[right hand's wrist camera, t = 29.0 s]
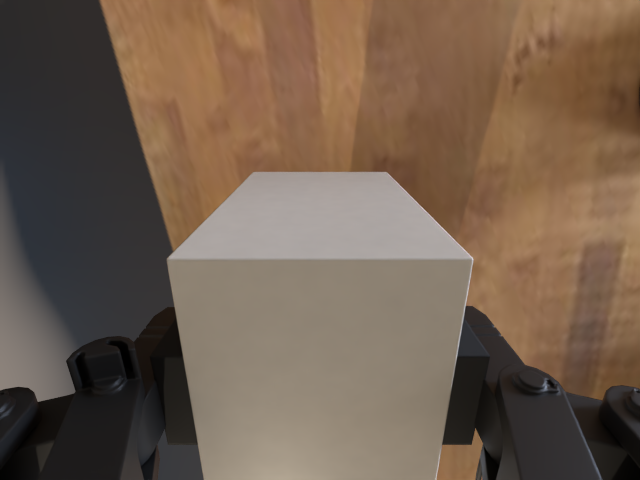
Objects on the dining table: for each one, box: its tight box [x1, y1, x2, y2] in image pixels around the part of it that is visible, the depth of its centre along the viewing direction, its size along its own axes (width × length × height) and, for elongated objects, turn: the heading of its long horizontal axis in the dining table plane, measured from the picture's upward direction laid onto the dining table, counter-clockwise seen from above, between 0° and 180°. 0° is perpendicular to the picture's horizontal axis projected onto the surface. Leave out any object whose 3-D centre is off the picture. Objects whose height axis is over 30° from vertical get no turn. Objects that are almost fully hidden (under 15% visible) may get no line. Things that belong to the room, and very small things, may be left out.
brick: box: [167, 172, 473, 480], centre depth 13 cm, size 6×7×10 cm
